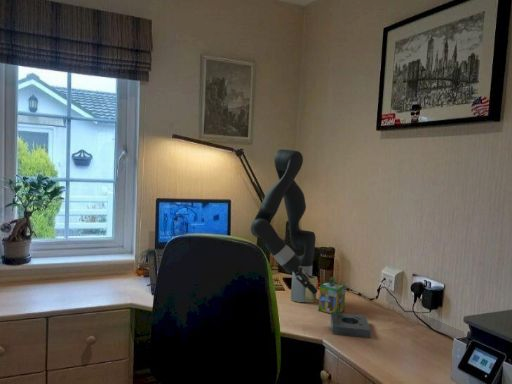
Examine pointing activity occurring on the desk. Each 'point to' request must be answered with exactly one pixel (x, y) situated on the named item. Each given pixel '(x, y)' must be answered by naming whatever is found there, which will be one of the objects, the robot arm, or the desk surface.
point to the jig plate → (350, 325)
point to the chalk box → (332, 297)
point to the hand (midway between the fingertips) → (315, 290)
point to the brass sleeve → (308, 294)
